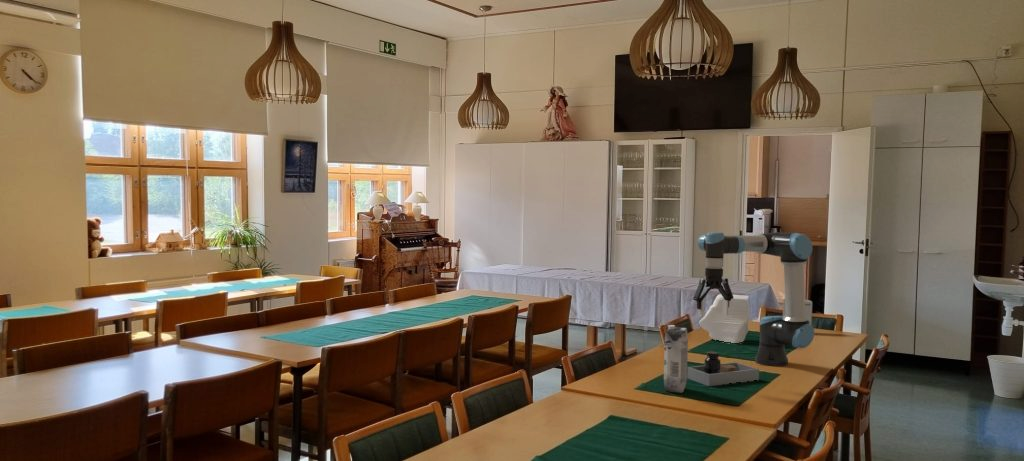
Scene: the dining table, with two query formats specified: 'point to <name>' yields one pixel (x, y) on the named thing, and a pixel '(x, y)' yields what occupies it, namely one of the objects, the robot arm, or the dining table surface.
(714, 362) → the supplement bottle
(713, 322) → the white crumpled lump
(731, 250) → the robot arm
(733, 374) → the tote
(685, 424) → the dining table surface
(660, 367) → the dining table surface
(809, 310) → the hard drive box
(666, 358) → the juice carton
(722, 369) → the walnut cube
